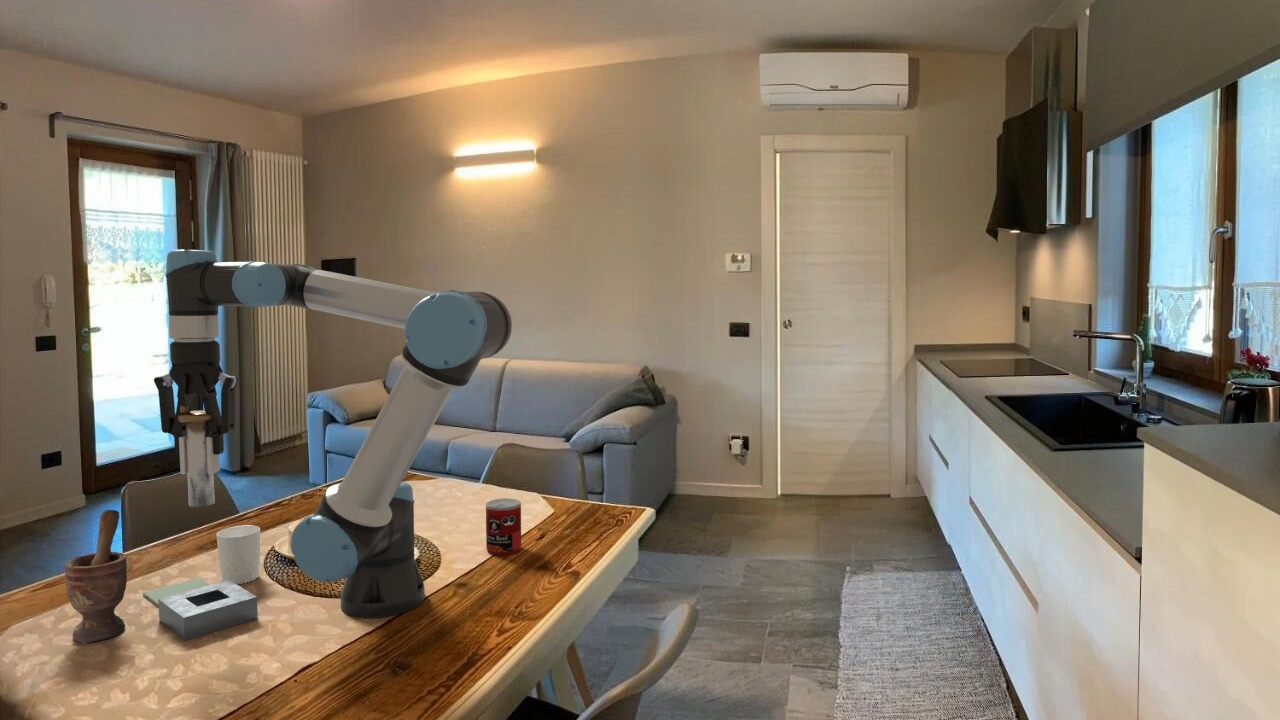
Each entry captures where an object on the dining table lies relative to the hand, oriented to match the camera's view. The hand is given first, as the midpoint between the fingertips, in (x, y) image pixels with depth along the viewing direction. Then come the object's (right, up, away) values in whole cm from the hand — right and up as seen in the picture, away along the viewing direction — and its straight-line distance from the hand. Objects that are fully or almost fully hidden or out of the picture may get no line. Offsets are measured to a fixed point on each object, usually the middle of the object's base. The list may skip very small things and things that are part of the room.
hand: (200, 472), depth 138 cm
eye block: (0, -27, +2) cm, 27 cm away
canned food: (+46, -24, +40) cm, 66 cm away
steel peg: (0, -6, +1) cm, 6 cm away
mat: (-11, -25, +13) cm, 31 cm away
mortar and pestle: (-16, -27, -2) cm, 32 cm away
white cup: (-4, -25, +22) cm, 33 cm away
